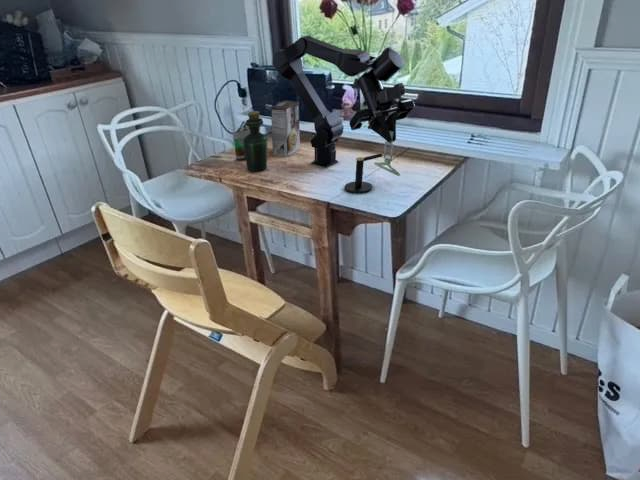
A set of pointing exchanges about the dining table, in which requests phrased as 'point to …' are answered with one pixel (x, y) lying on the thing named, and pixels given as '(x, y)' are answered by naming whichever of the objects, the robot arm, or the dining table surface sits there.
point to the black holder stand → (360, 177)
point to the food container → (240, 142)
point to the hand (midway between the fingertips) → (392, 141)
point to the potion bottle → (255, 144)
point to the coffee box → (285, 128)
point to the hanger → (388, 160)
